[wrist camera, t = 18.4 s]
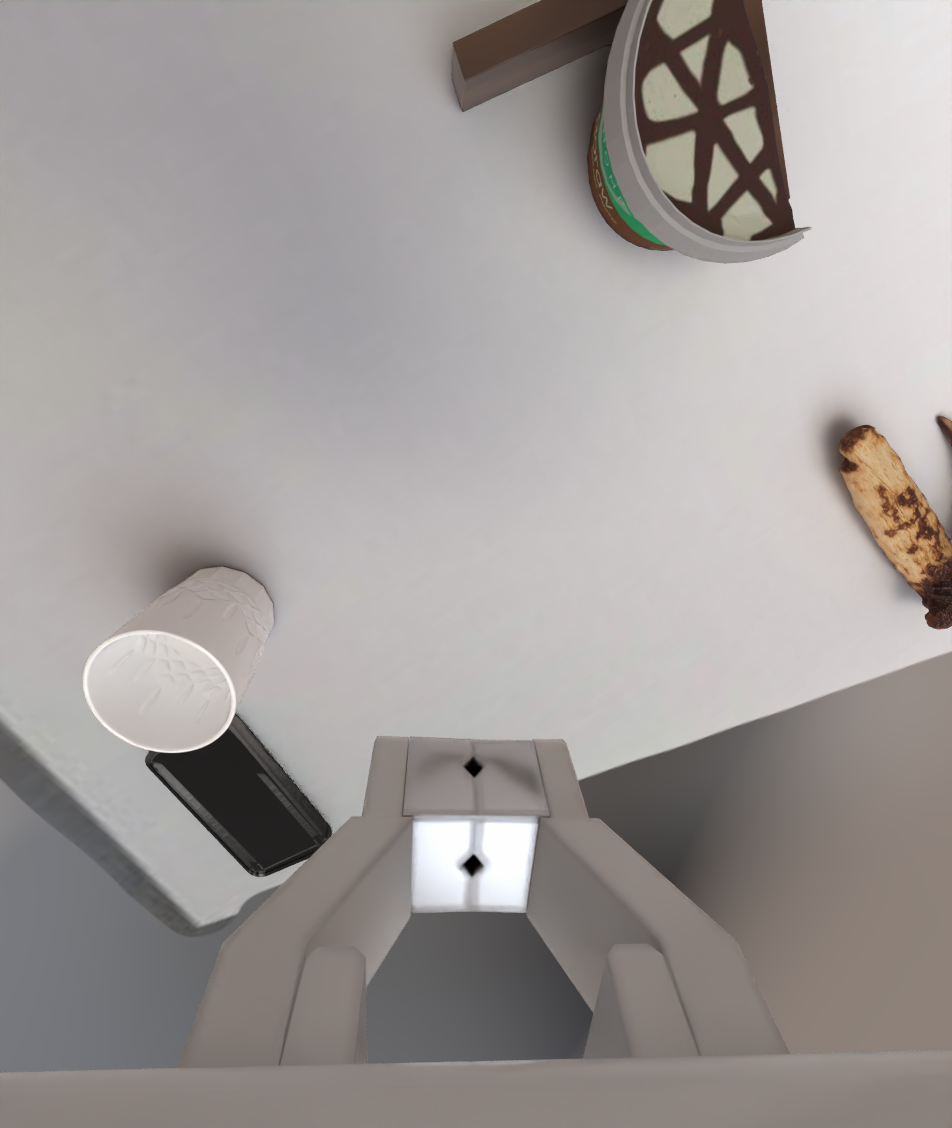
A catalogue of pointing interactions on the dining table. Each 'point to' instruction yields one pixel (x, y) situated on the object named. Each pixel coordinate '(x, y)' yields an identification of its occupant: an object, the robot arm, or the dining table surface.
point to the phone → (244, 800)
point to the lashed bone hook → (900, 517)
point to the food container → (689, 136)
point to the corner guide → (560, 49)
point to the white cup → (181, 662)
